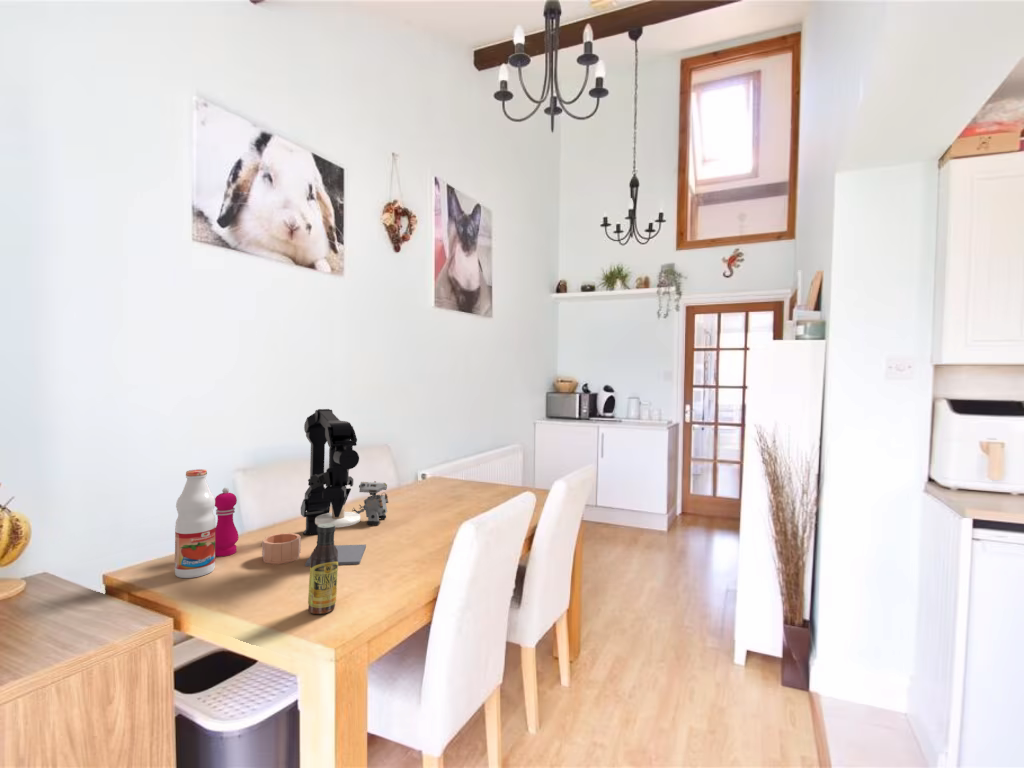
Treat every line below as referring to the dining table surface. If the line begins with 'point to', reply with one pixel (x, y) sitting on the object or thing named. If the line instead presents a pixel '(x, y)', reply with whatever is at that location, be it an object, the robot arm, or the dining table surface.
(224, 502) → the pepper mill
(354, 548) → the mat
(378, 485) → the figurine
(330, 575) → the sauce bottle
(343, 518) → the lid
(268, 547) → the bowl
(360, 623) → the dining table surface
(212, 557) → the fruit juice
